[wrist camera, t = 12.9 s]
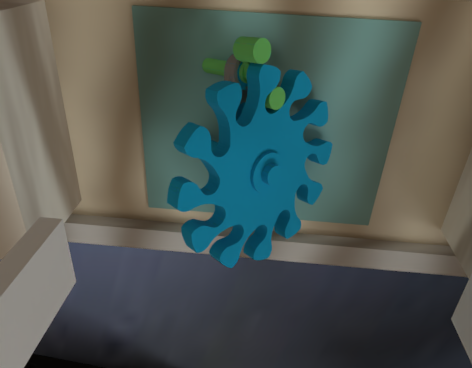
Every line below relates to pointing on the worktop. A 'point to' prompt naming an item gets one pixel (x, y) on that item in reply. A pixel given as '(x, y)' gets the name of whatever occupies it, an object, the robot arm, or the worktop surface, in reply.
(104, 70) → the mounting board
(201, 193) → the gear
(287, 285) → the worktop surface
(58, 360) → the electrical component
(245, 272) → the worktop surface
